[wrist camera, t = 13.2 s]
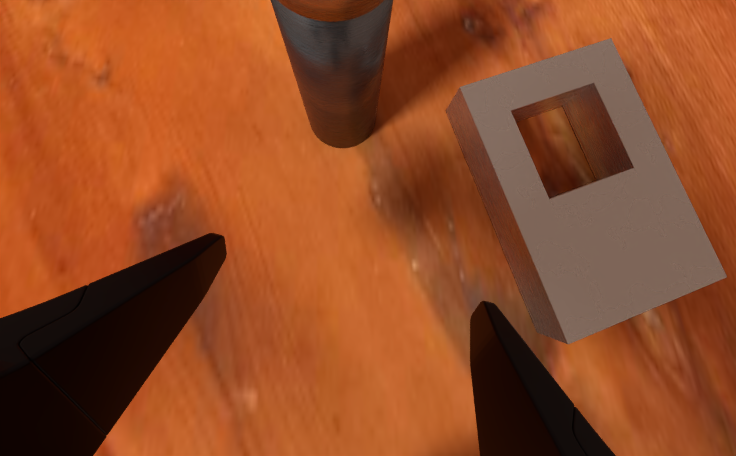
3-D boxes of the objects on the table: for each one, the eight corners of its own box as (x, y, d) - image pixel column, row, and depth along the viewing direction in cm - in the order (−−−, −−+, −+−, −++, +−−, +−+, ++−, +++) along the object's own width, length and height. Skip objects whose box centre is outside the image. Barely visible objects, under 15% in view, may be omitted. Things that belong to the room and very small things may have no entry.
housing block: (537, 332, 20) (568, 344, 17) (445, 110, 22) (459, 87, 19) (675, 275, 21) (727, 277, 18) (578, 67, 23) (611, 38, 20)
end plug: (321, 157, 21) (270, -5, 8) (299, 96, 22) (219, -146, 9) (385, 136, 22) (431, -49, 9) (362, 76, 22) (374, -182, 9)
